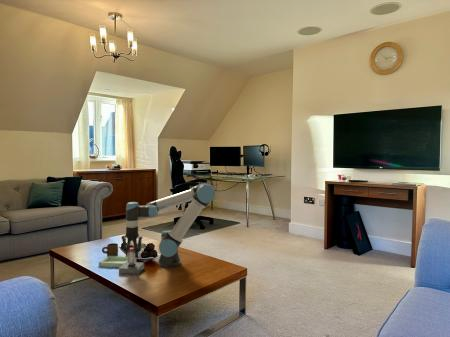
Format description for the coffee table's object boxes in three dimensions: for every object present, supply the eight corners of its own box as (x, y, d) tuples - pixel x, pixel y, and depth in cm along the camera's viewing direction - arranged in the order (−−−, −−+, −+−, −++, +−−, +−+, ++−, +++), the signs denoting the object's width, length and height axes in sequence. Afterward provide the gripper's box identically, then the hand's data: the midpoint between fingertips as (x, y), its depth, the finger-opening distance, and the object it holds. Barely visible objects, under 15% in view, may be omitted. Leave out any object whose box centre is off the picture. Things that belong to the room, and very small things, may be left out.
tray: (132, 261, 219) (132, 256, 218) (124, 268, 205) (124, 263, 205) (108, 259, 220) (108, 255, 220) (98, 266, 206) (98, 262, 206)
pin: (136, 270, 201) (136, 247, 200) (133, 272, 197) (133, 249, 196) (129, 270, 201) (130, 247, 201) (127, 272, 197) (127, 249, 196)
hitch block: (144, 268, 204) (144, 262, 204) (137, 275, 192) (137, 269, 192) (126, 267, 206) (126, 261, 205) (118, 274, 194) (118, 268, 193)
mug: (104, 261, 217) (104, 248, 217) (99, 258, 222) (99, 245, 222) (120, 257, 226) (120, 244, 226) (114, 254, 231) (114, 242, 231)
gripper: (146, 225, 201) (146, 260, 202) (122, 224, 202) (121, 259, 203) (142, 228, 193) (142, 264, 194) (117, 227, 195) (116, 263, 196)
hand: (131, 262), depth 199 cm, fingers closed on pin, 3 cm apart
